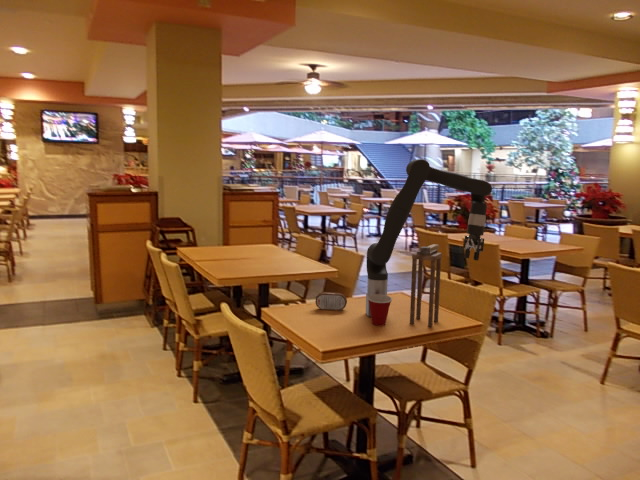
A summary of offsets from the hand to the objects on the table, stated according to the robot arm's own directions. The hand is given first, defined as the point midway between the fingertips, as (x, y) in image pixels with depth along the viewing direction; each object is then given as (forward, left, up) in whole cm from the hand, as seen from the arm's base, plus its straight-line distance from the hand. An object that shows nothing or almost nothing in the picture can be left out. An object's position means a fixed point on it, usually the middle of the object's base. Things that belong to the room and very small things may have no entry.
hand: (471, 259), depth 244 cm
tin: (-63, +12, -27) cm, 70 cm away
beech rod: (-22, -8, +5) cm, 24 cm away
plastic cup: (-45, -12, -27) cm, 54 cm away
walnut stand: (-25, -11, -26) cm, 38 cm away
